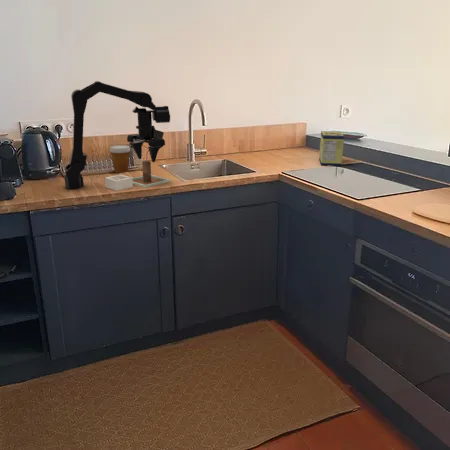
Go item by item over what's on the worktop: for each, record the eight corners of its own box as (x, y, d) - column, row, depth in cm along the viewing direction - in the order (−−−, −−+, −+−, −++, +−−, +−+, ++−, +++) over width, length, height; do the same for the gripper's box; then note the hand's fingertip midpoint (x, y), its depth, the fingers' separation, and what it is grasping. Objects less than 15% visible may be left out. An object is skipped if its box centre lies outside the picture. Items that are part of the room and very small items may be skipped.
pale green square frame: (144, 189, 196) (144, 185, 195) (124, 183, 205) (124, 179, 204) (170, 183, 206) (170, 179, 205) (150, 178, 215) (149, 174, 214)
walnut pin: (146, 183, 203) (145, 163, 200) (141, 182, 205) (140, 161, 202) (153, 182, 205) (152, 162, 202) (148, 180, 207) (147, 160, 204)
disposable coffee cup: (127, 174, 220) (125, 149, 216) (107, 173, 222) (105, 148, 218) (134, 170, 229) (133, 145, 225) (116, 169, 231) (114, 144, 227)
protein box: (338, 160, 256) (340, 131, 250) (341, 166, 241) (344, 136, 236) (318, 159, 257) (320, 130, 251) (320, 166, 242) (323, 135, 237)
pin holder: (116, 193, 191) (116, 181, 189) (105, 189, 196) (104, 177, 194) (133, 189, 197) (132, 177, 195) (121, 185, 202) (120, 174, 200)
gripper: (174, 123, 196) (175, 160, 202) (146, 119, 208) (147, 154, 213) (153, 126, 189) (155, 165, 194) (125, 122, 200) (127, 158, 206)
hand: (146, 160), depth 202 cm, fingers open, 9 cm apart
